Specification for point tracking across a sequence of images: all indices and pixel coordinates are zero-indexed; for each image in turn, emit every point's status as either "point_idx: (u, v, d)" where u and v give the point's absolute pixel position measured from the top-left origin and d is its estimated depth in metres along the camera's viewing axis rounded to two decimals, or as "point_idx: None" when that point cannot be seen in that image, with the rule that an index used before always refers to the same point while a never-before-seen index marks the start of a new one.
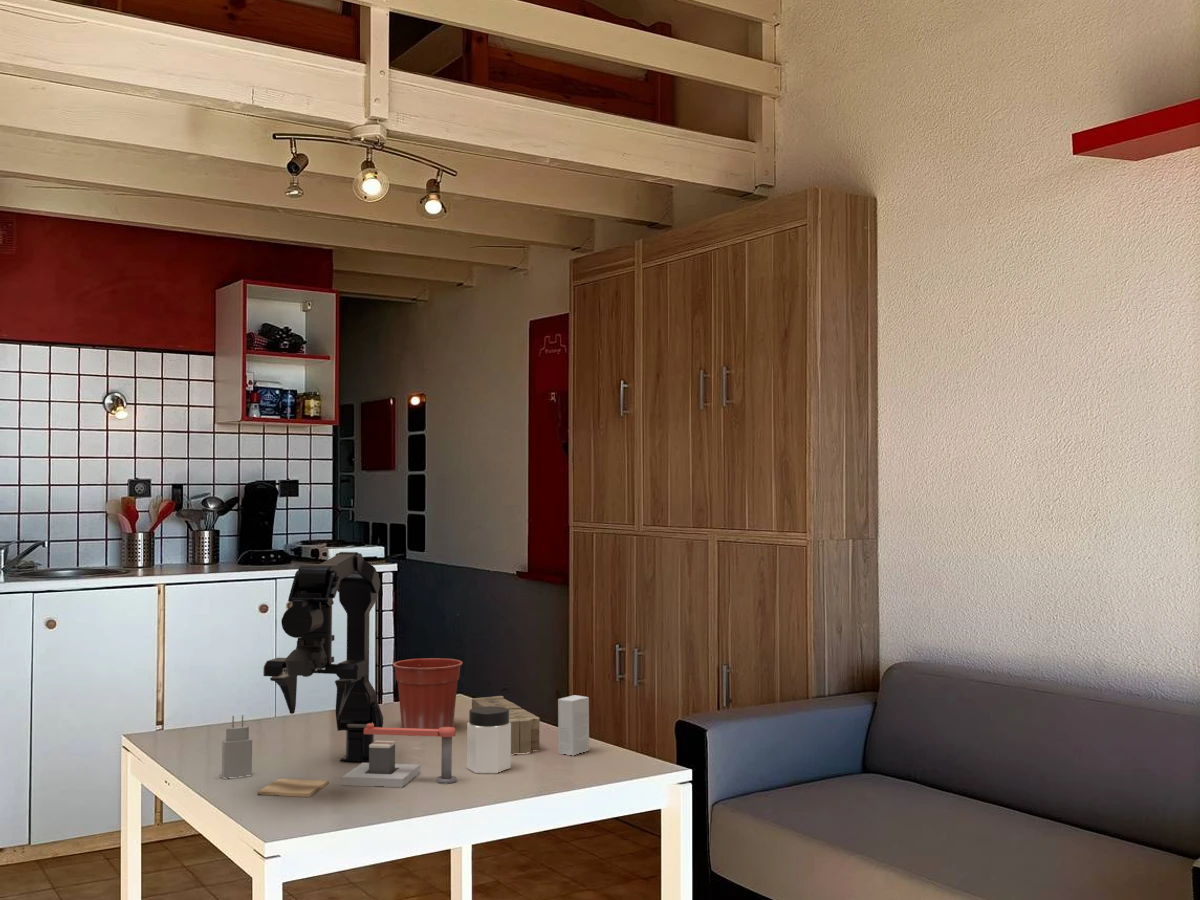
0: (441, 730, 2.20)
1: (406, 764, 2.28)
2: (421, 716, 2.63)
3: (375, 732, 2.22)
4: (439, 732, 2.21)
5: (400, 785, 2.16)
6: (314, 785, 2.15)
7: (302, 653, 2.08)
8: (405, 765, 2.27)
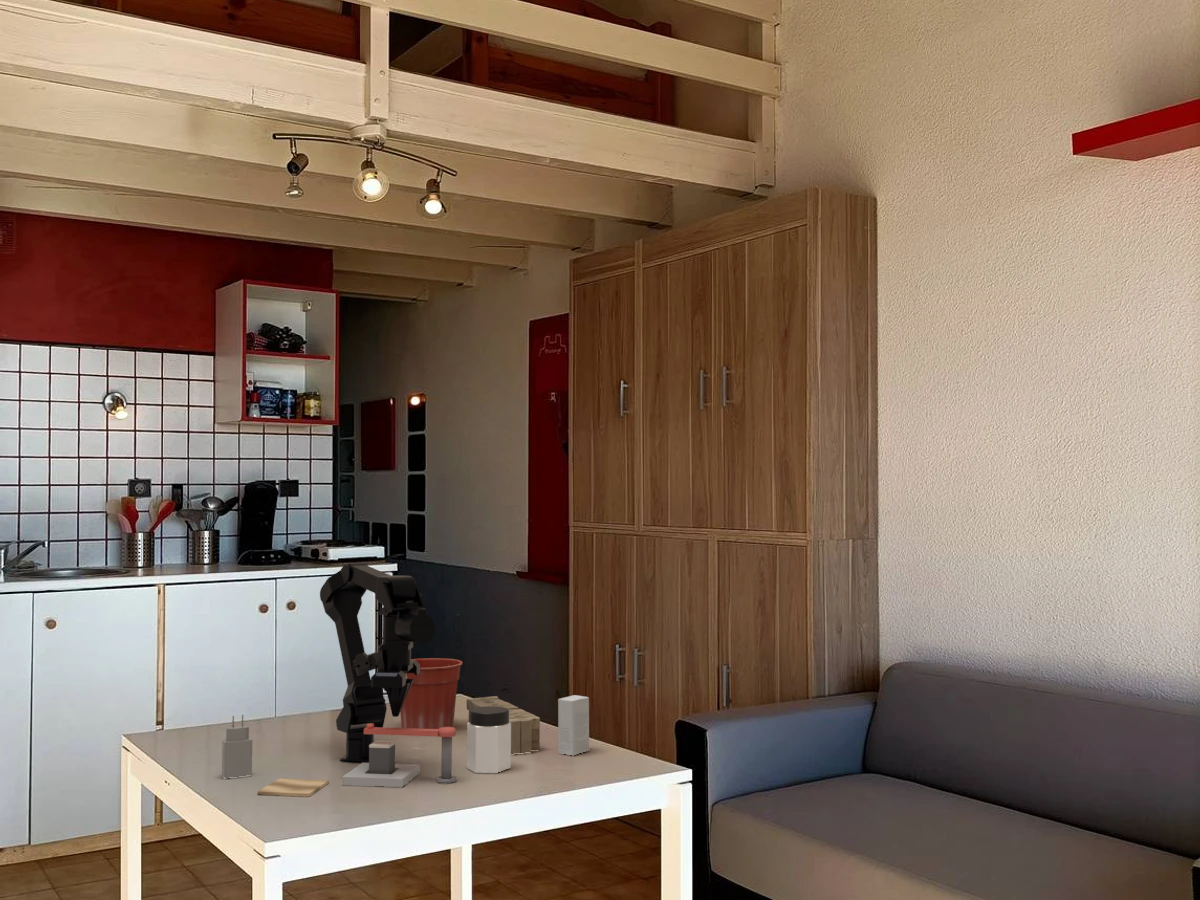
0: (441, 730, 2.20)
1: (406, 764, 2.28)
2: (421, 716, 2.63)
3: (375, 732, 2.22)
4: (439, 732, 2.21)
5: (400, 785, 2.16)
6: (314, 785, 2.15)
7: None
8: (405, 765, 2.27)
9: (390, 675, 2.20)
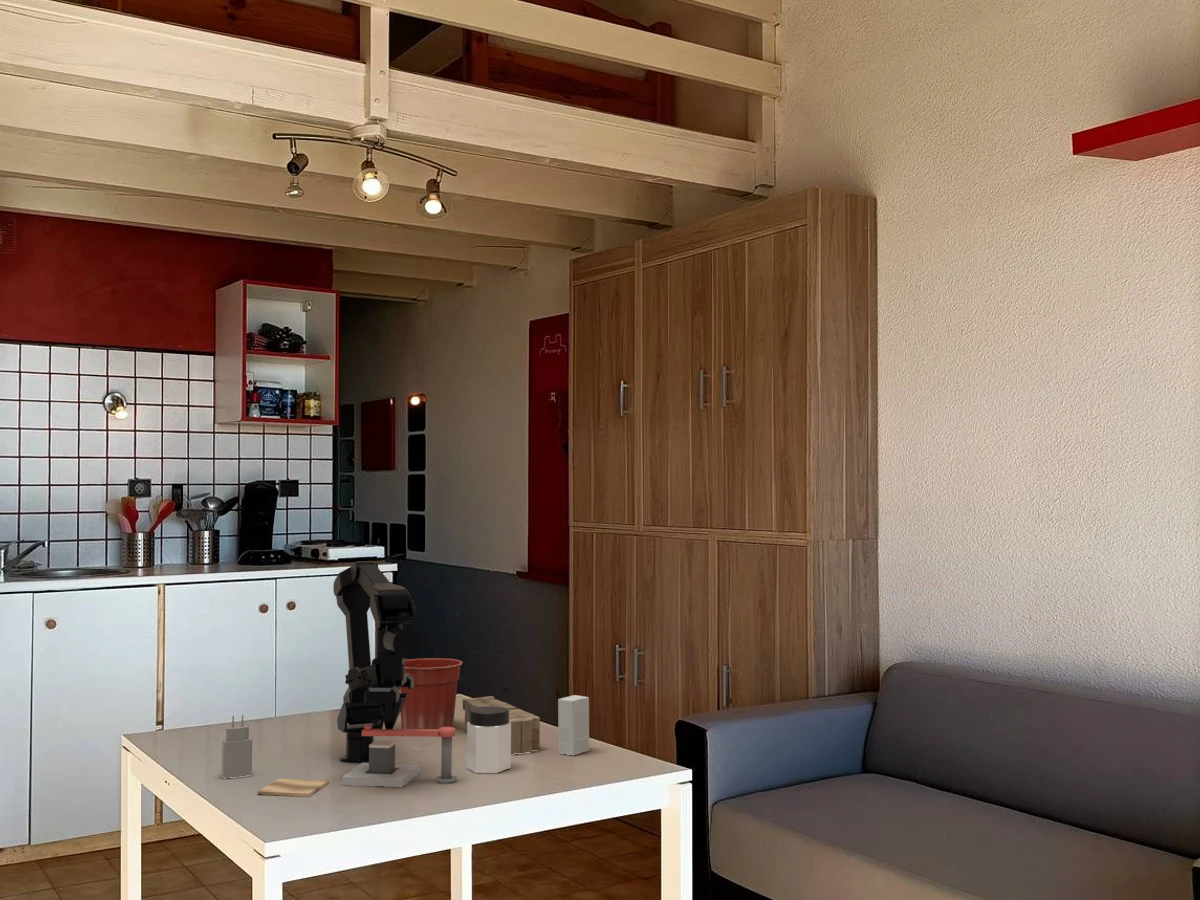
0: (442, 730, 2.20)
1: (406, 764, 2.28)
2: (421, 716, 2.63)
3: (373, 734, 2.21)
4: (439, 732, 2.20)
5: (400, 785, 2.16)
6: (314, 785, 2.15)
7: (361, 669, 2.24)
8: (405, 765, 2.27)
9: (383, 690, 2.14)
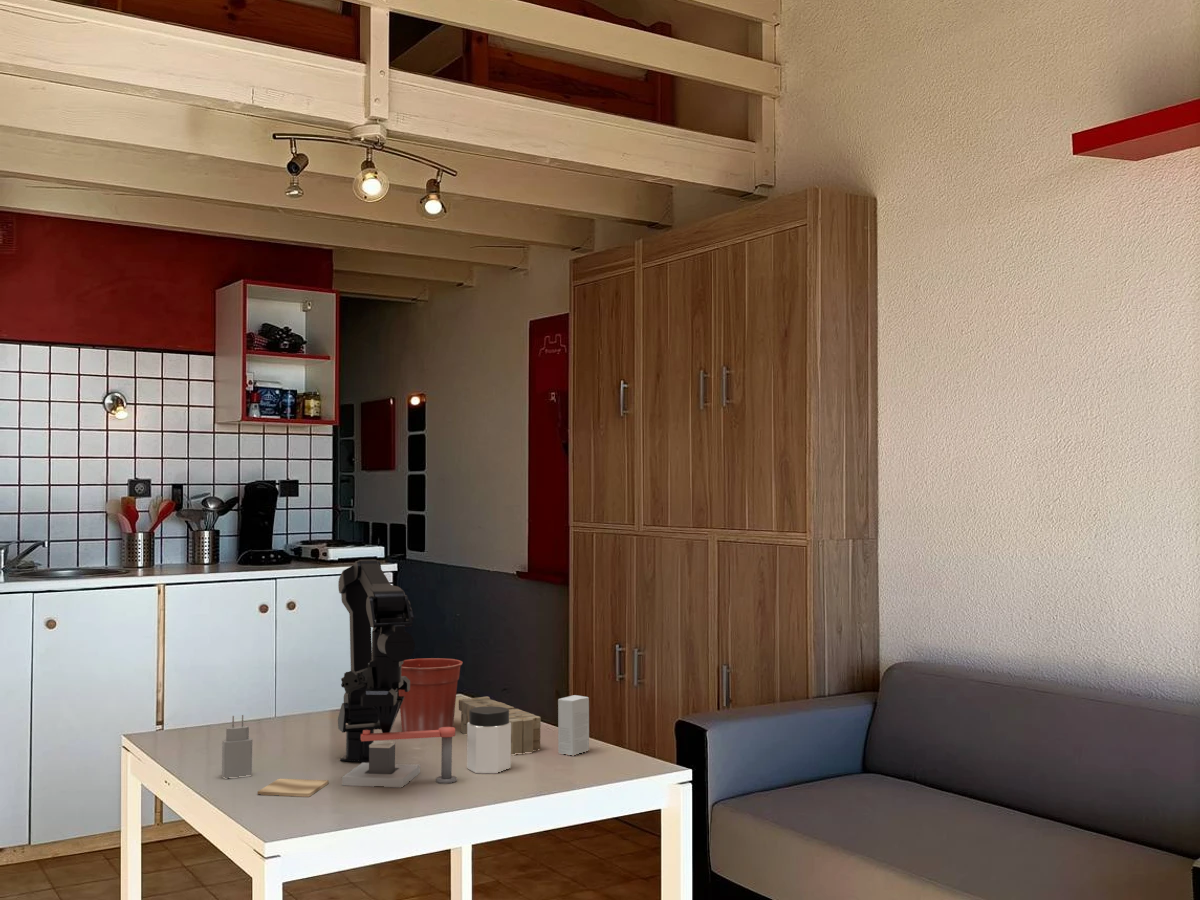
0: (444, 730, 2.20)
1: (406, 764, 2.28)
2: (421, 716, 2.63)
3: (374, 738, 2.16)
4: (441, 732, 2.20)
5: (400, 785, 2.16)
6: (314, 785, 2.15)
7: (357, 672, 2.20)
8: (405, 765, 2.27)
9: (381, 693, 2.11)
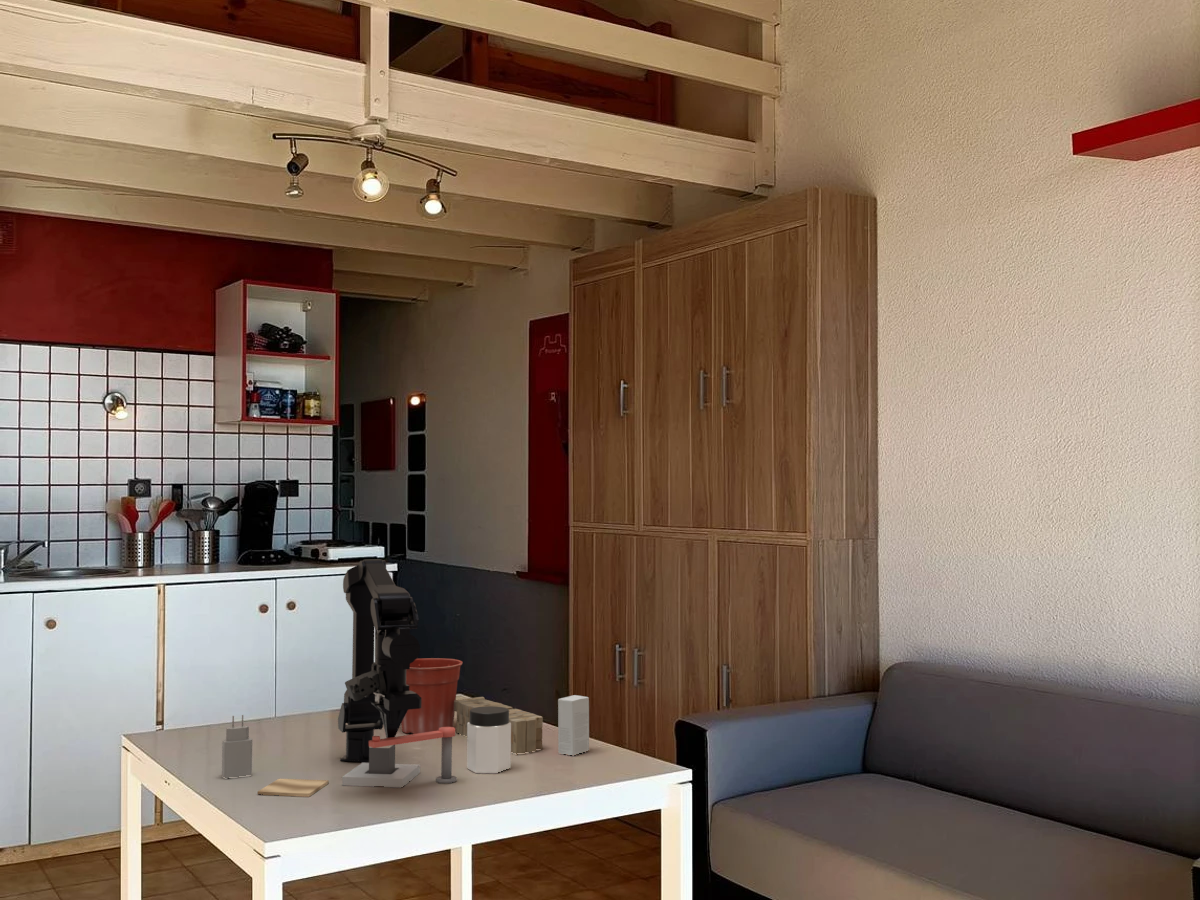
0: (447, 730, 2.20)
1: (406, 764, 2.28)
2: (421, 716, 2.63)
3: (385, 744, 2.12)
4: (444, 733, 2.20)
5: (400, 785, 2.16)
6: (314, 785, 2.15)
7: (361, 677, 2.13)
8: (405, 765, 2.27)
9: (410, 696, 2.08)
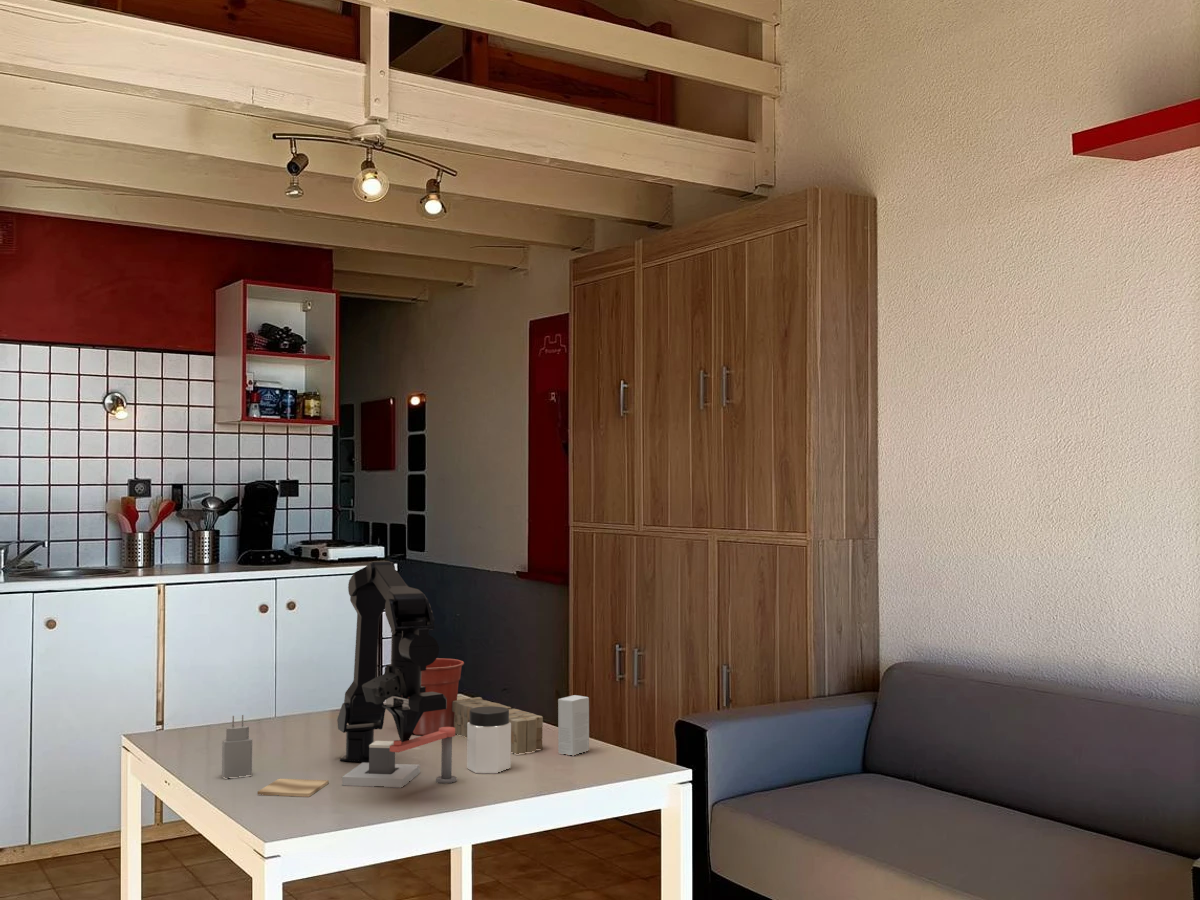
0: (450, 730, 2.20)
1: (406, 764, 2.28)
2: (422, 716, 2.63)
3: (406, 747, 2.08)
4: (447, 733, 2.20)
5: (400, 785, 2.16)
6: (314, 785, 2.15)
7: (379, 680, 2.09)
8: (405, 765, 2.27)
9: (438, 697, 2.07)
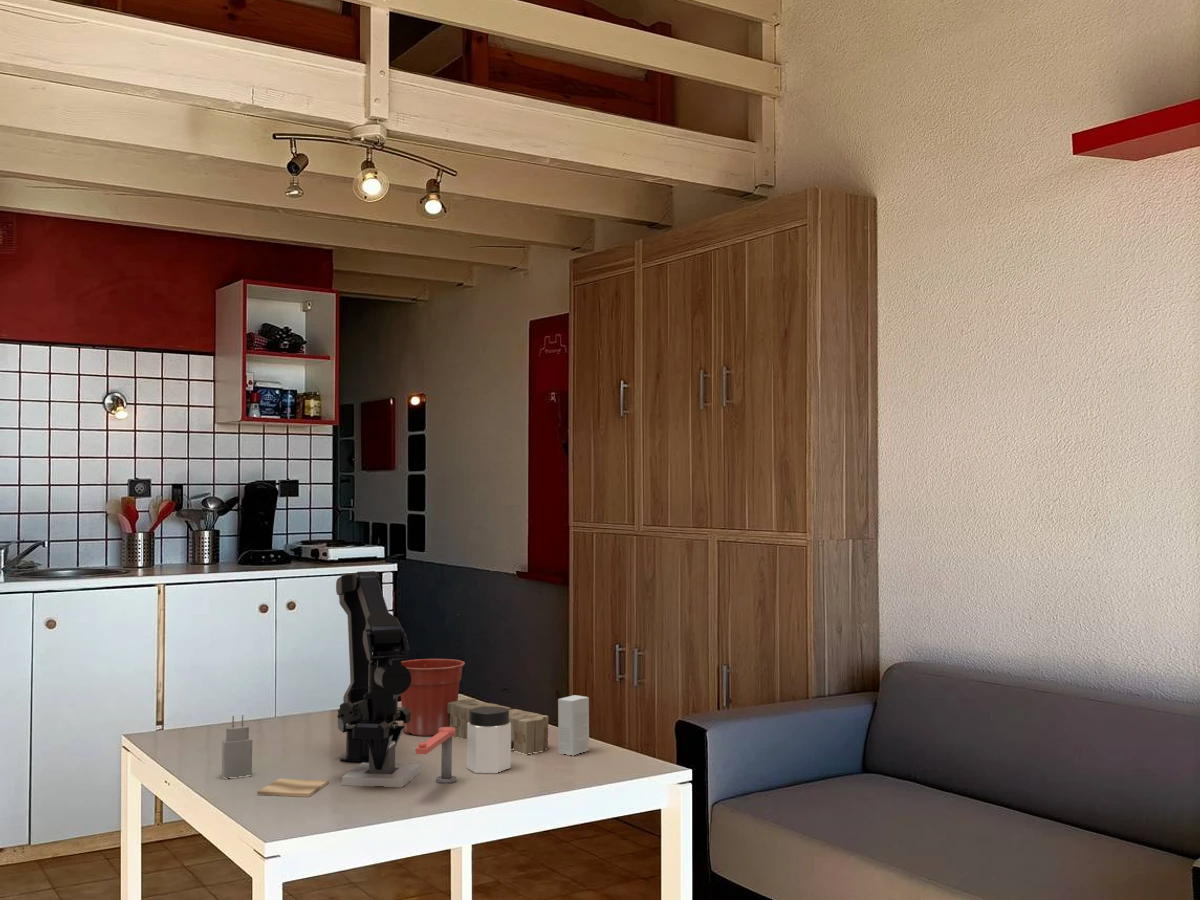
0: (452, 730, 2.20)
1: (406, 764, 2.28)
2: (419, 717, 2.63)
3: (430, 749, 2.07)
4: (450, 733, 2.20)
5: (400, 785, 2.16)
6: (314, 785, 2.15)
7: (355, 703, 2.24)
8: (405, 765, 2.27)
9: (371, 726, 2.14)
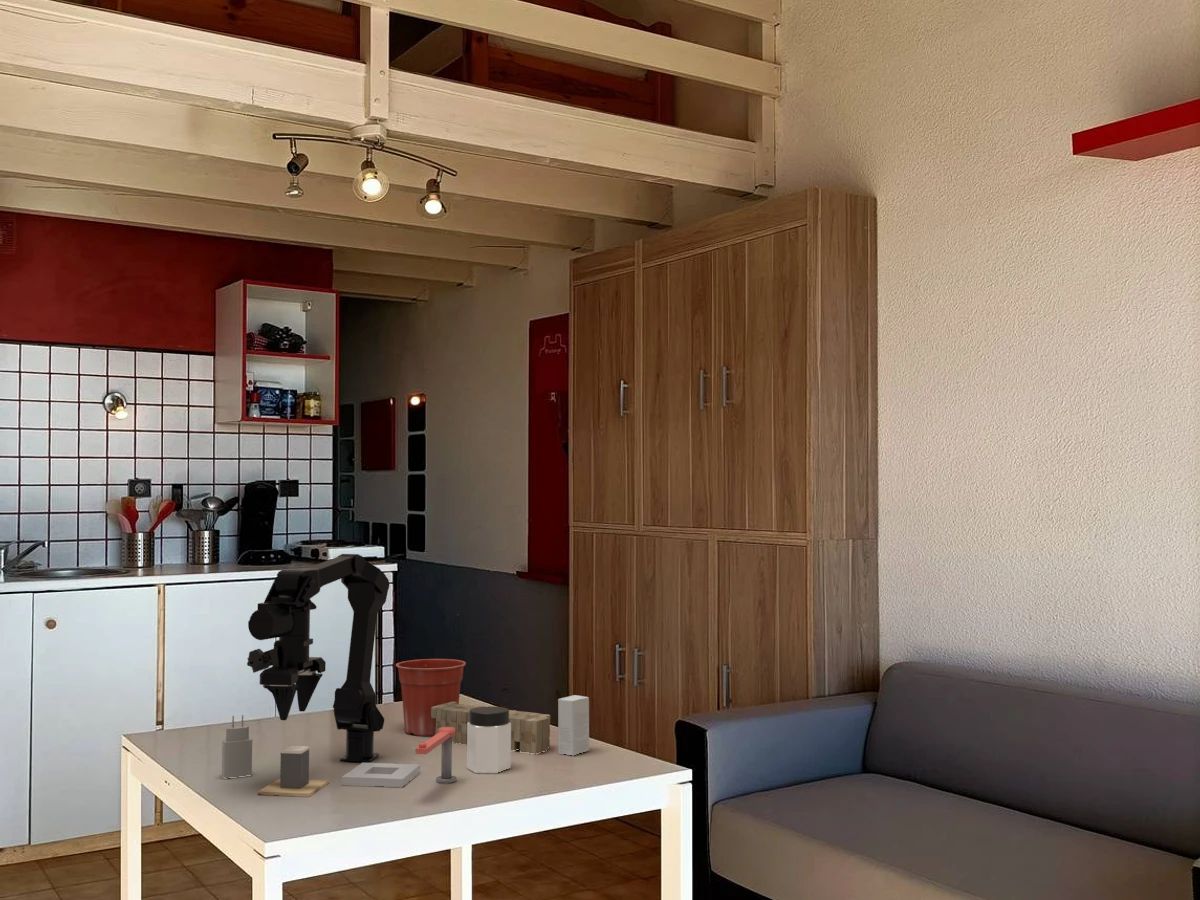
0: (452, 730, 2.20)
1: (406, 764, 2.28)
2: (421, 717, 2.62)
3: (430, 749, 2.07)
4: (450, 733, 2.20)
5: (400, 785, 2.16)
6: (314, 785, 2.15)
7: None
8: (405, 765, 2.27)
9: (278, 672, 2.10)
